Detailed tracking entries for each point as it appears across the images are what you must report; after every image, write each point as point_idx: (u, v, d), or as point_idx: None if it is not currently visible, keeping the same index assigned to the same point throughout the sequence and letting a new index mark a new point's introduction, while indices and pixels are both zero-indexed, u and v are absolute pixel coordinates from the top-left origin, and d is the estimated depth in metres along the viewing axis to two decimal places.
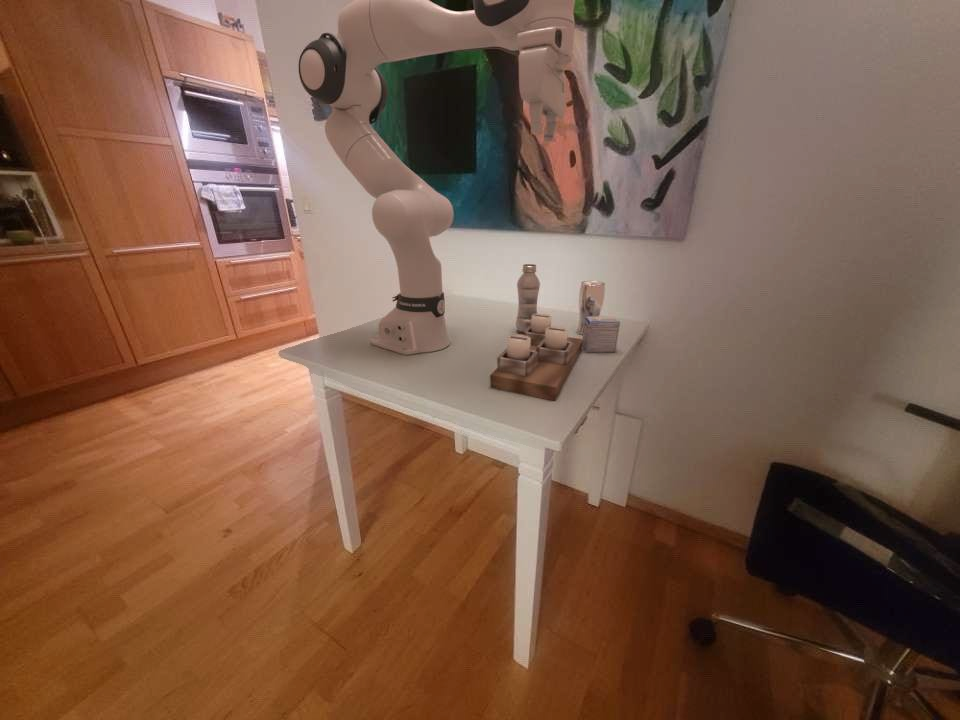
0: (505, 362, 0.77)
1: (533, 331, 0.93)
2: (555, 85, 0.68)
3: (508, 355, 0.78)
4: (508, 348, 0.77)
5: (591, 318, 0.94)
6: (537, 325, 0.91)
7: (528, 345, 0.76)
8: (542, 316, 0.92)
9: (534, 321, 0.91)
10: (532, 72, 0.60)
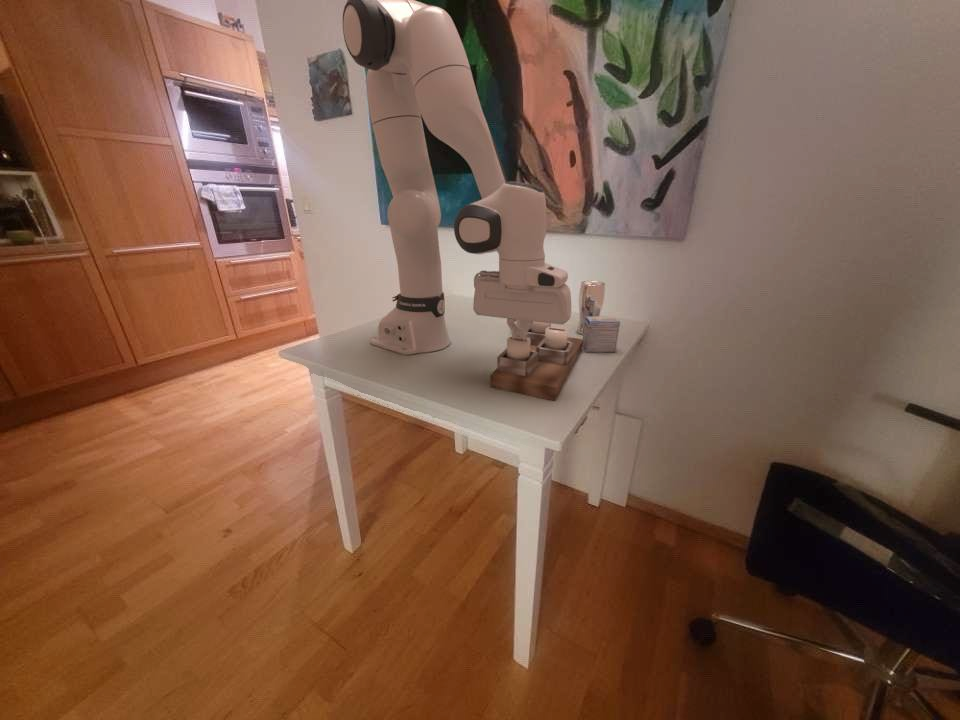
0: (505, 362, 0.77)
1: (533, 331, 0.93)
2: None
3: (508, 356, 0.78)
4: (508, 349, 0.77)
5: (591, 318, 0.94)
6: (537, 325, 0.91)
7: (528, 346, 0.76)
8: None
9: (534, 321, 0.91)
10: (569, 305, 0.70)
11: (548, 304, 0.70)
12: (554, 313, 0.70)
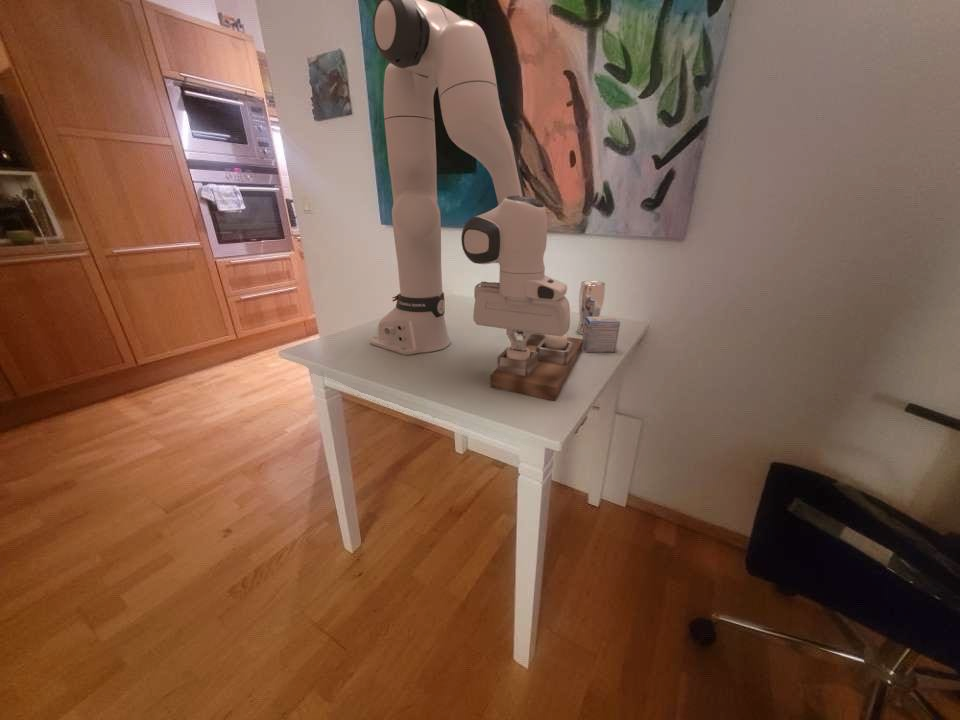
0: (505, 362, 0.77)
1: None
2: None
3: None
4: None
5: (591, 318, 0.94)
6: None
7: (527, 357, 0.77)
8: None
9: None
10: (568, 317, 0.72)
11: (547, 316, 0.71)
12: (553, 325, 0.71)
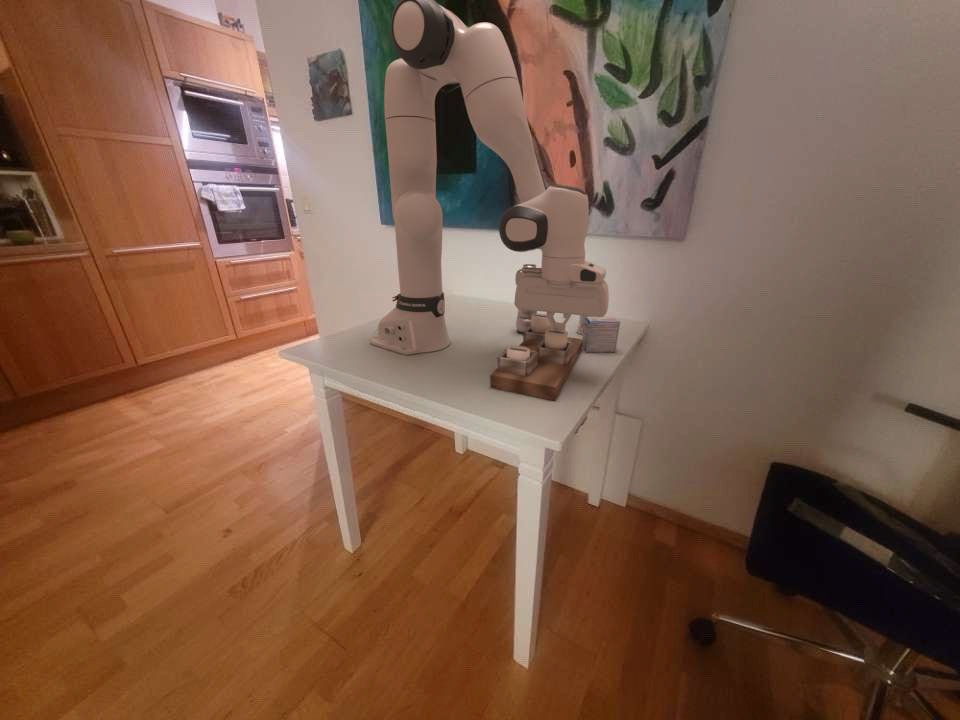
0: (505, 362, 0.77)
1: (533, 331, 0.93)
2: None
3: None
4: None
5: (591, 318, 0.94)
6: (537, 325, 0.91)
7: (527, 356, 0.77)
8: (542, 316, 0.92)
9: (534, 321, 0.91)
10: (607, 299, 0.76)
11: (588, 298, 0.76)
12: (593, 307, 0.76)
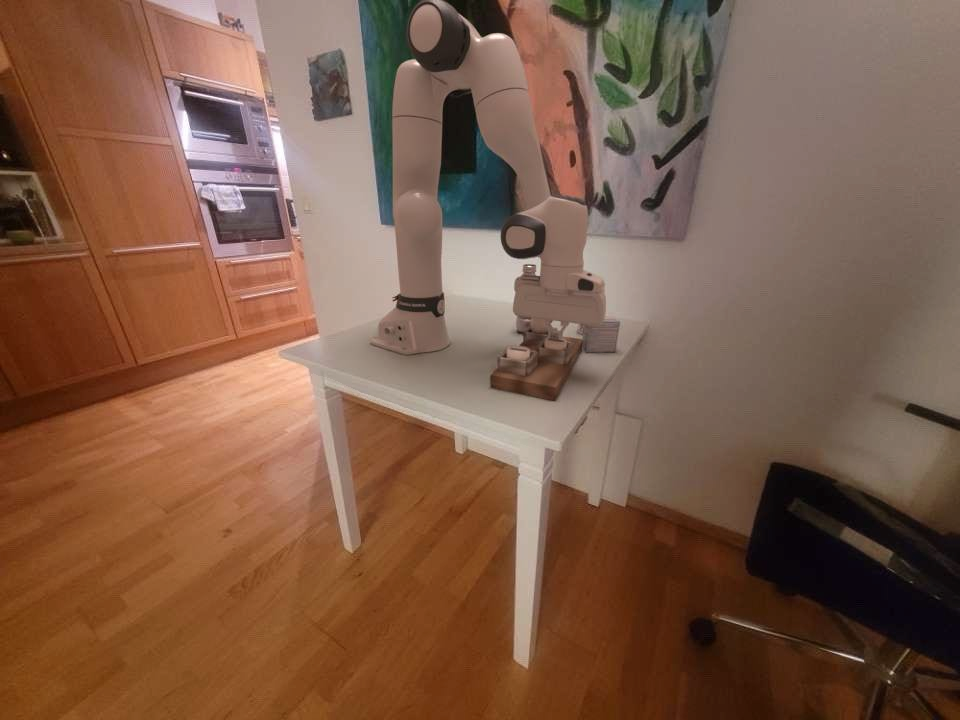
0: (505, 362, 0.77)
1: (533, 331, 0.93)
2: None
3: None
4: None
5: None
6: (537, 325, 0.91)
7: (527, 356, 0.77)
8: None
9: (534, 321, 0.91)
10: (605, 309, 0.77)
11: (585, 307, 0.76)
12: (590, 316, 0.76)
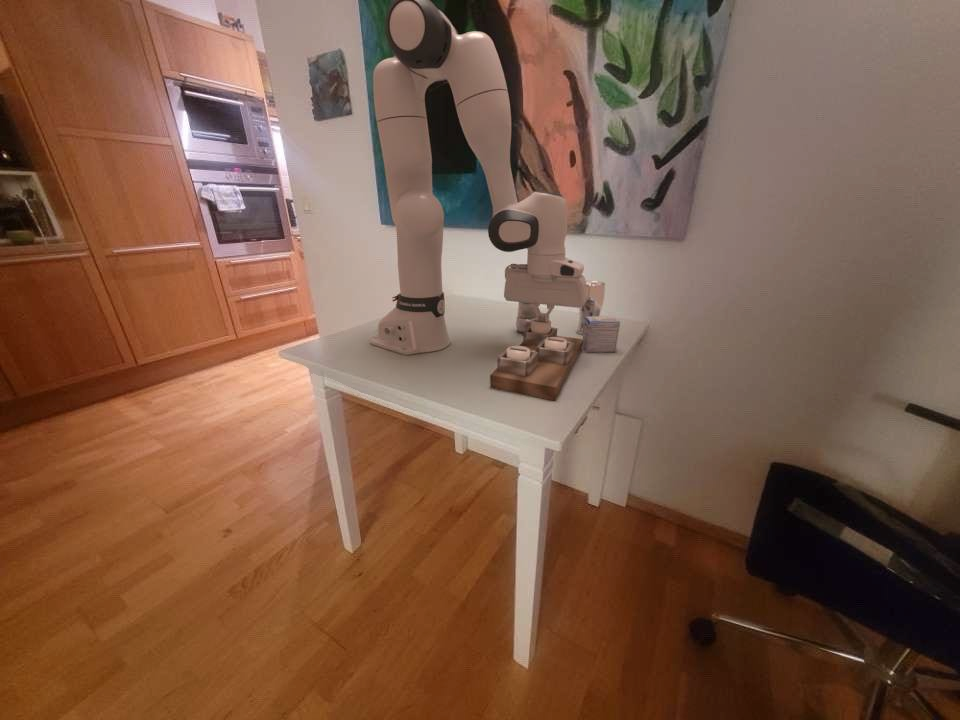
0: (505, 362, 0.77)
1: None
2: None
3: None
4: None
5: (591, 318, 0.94)
6: (536, 330, 0.92)
7: (527, 356, 0.77)
8: (542, 321, 0.93)
9: (534, 327, 0.92)
10: (585, 292, 0.86)
11: (568, 291, 0.86)
12: (572, 298, 0.86)
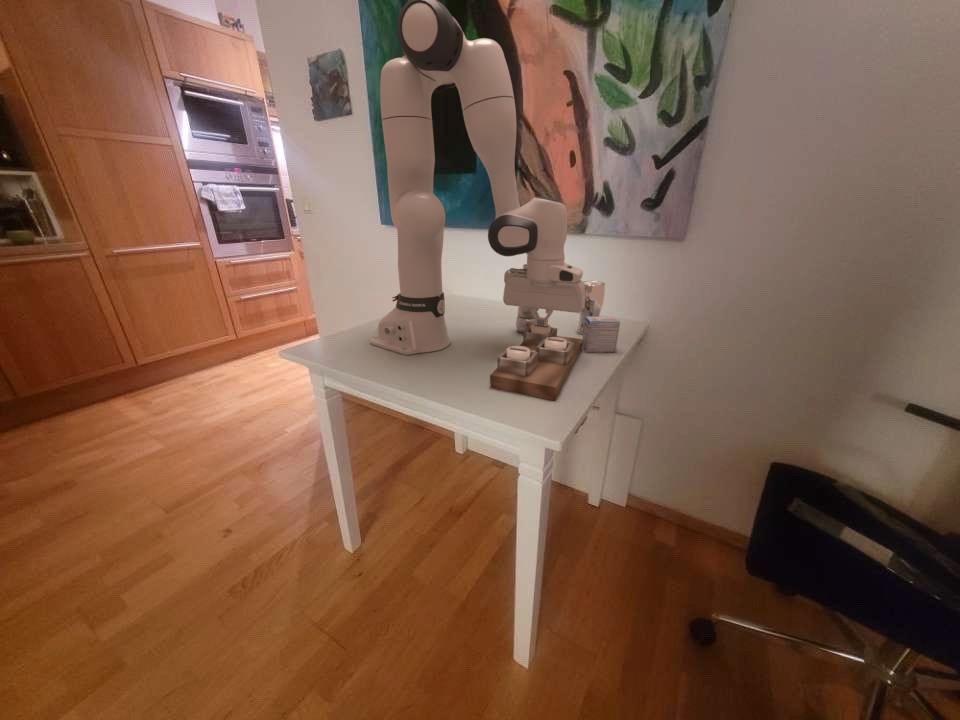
0: (505, 362, 0.77)
1: None
2: None
3: None
4: None
5: (591, 318, 0.94)
6: None
7: (527, 356, 0.77)
8: (541, 326, 0.93)
9: (534, 331, 0.92)
10: (584, 297, 0.87)
11: (566, 296, 0.86)
12: (571, 303, 0.86)
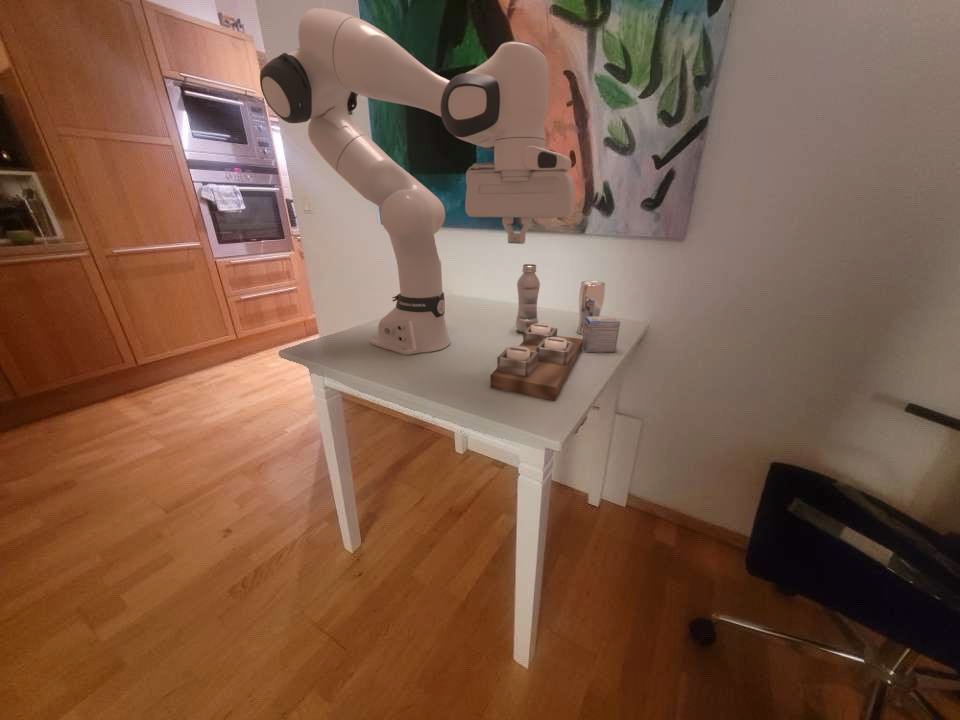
0: (505, 362, 0.77)
1: None
2: None
3: None
4: None
5: (591, 318, 0.94)
6: None
7: (527, 356, 0.77)
8: (541, 326, 0.93)
9: (534, 331, 0.92)
10: (573, 196, 0.63)
11: (549, 194, 0.62)
12: (555, 204, 0.62)
